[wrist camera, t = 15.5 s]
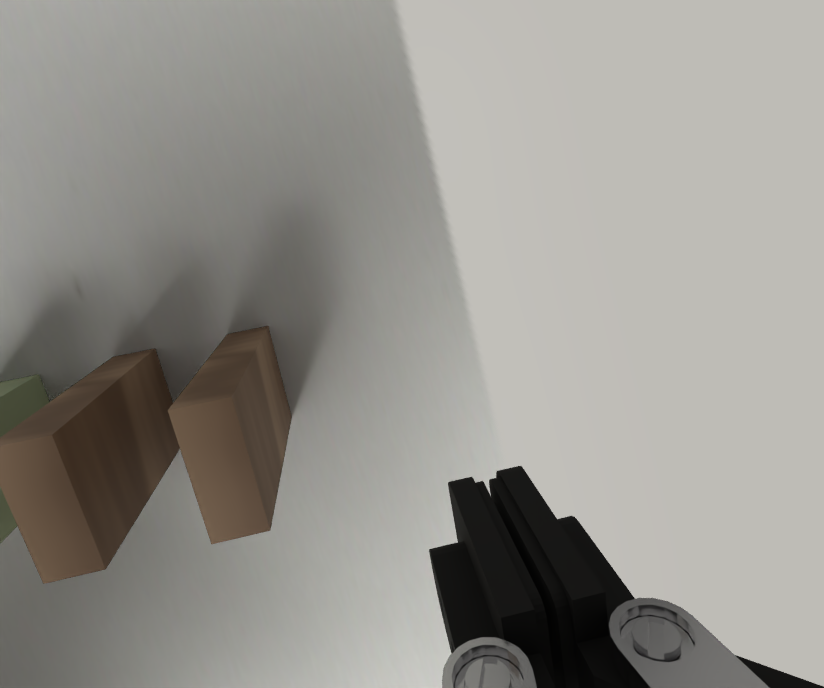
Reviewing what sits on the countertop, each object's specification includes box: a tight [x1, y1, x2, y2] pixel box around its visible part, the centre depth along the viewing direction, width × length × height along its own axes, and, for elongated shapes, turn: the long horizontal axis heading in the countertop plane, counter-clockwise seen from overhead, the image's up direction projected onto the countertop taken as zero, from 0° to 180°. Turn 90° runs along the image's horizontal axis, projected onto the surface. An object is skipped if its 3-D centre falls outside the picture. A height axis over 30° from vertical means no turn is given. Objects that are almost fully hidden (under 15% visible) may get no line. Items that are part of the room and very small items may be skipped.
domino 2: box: [168, 326, 292, 544], centre depth 22 cm, size 2×5×10 cm, turn 10°
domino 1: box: [0, 349, 180, 584], centre depth 22 cm, size 2×5×10 cm, turn 10°
